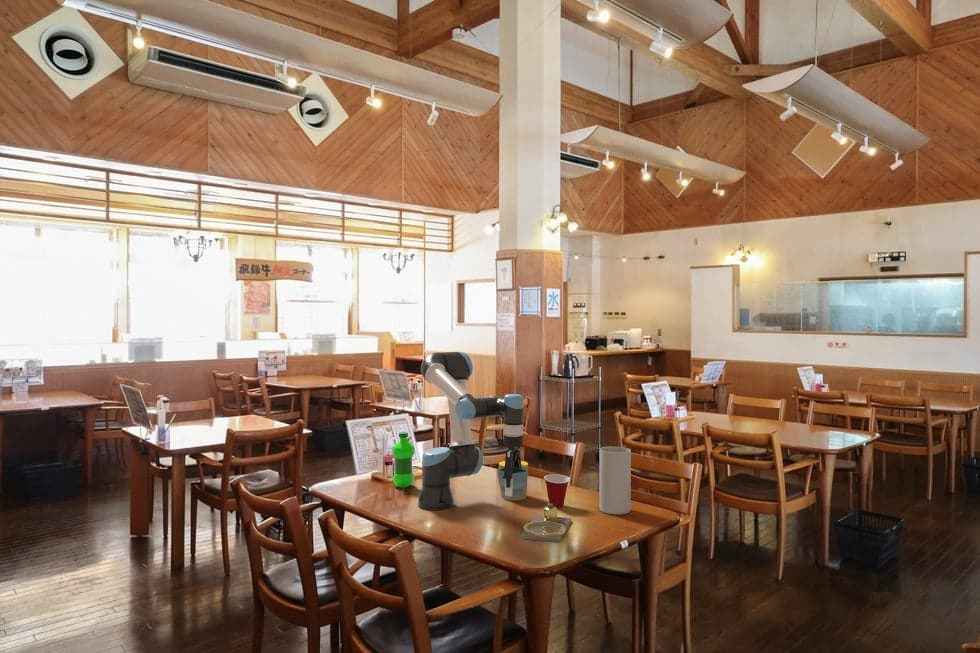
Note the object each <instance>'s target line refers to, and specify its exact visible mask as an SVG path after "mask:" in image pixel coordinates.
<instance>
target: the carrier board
mask: <svg viewBox="0 0 980 653" xmlns="http://www.w3.org/2000/svg"><path fill="white" fill-rule="evenodd" d="M571 522H572V518H571V517H562V516H561V517H560V516H558V508H556V507H553V504H552V503H549V502H548V503H547V506H544V507H543V515H540V514H539V515H538V514H535V515H534V517H533V518H532V520H531V521H530V522H528V523H527V522H526V523H525V524H524V526H523V527H522V530H523V531H522V533H521V534H520V539H521V540H528V541H529V540H530V541H531V540H532V541H538V542H539V541H541V542H550V543H561V541H562V539H563V538H564V535H565V533H566V532H567V530H568V528H569V526H570V524H571Z"/></svg>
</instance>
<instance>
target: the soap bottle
mask: <svg viewBox="0 0 980 653" xmlns="http://www.w3.org/2000/svg"><path fill="white" fill-rule="evenodd" d="M521 466H522V467H521V468H522V469H523V470H527V471H528V472H529V463H528V462H527V461H523V460H521ZM504 468H505V460H504V461H500V462H498V469H504ZM527 491H528V482H527V483H526V486H525V488H524V490H523V492H522V493H521V494H516V495H512V496H505V493H504V492H503V491H502V489H501V487H500V486H499V493H500V498H501V499H502V500H508V501H521V500H524V499H526V498H527V496H528V495H527Z"/></svg>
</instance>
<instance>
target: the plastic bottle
mask: <svg viewBox="0 0 980 653" xmlns="http://www.w3.org/2000/svg"><path fill="white" fill-rule="evenodd" d="M408 437H409V432H406V431H405V432H404V431H401V432H399V433H398V438H399V440H398V441H397V443H395V444H394V445H393V446H392V449H391V453H392V456H393V457H394V474H393V476H392V482H393V483H394V485H396V486H397V487H398V488H401V489H404V488H409V486H411V484H413V482H414V480H415V476H414V473H413V456H414V455H415V452H416V451H415V446H414V445H413V444H412V443H411V442H410V441H409V440H408Z"/></svg>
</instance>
